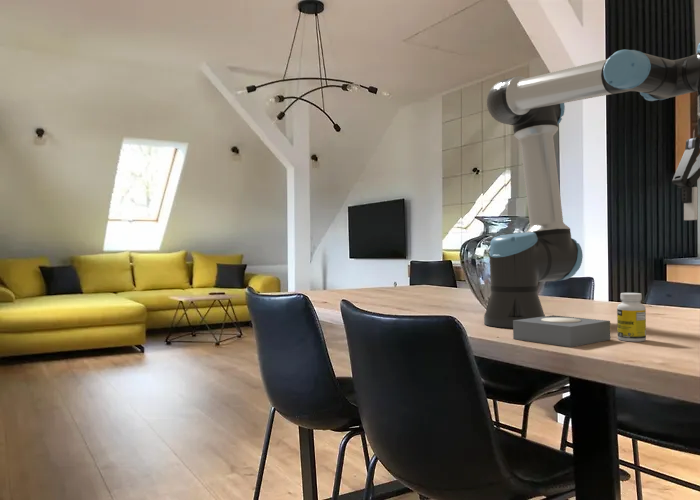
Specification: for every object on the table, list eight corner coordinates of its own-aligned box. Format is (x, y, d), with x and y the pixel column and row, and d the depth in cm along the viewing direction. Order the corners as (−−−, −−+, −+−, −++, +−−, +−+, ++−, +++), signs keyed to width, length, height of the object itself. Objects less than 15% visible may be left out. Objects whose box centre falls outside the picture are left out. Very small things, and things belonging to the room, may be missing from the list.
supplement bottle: (611, 339, 125) (611, 293, 125) (630, 337, 127) (630, 291, 127) (632, 342, 120) (631, 294, 120) (652, 340, 122) (651, 293, 122)
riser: (513, 338, 127) (513, 319, 127) (553, 332, 136) (552, 314, 136) (570, 347, 116) (570, 325, 116) (610, 339, 124) (609, 319, 124)
